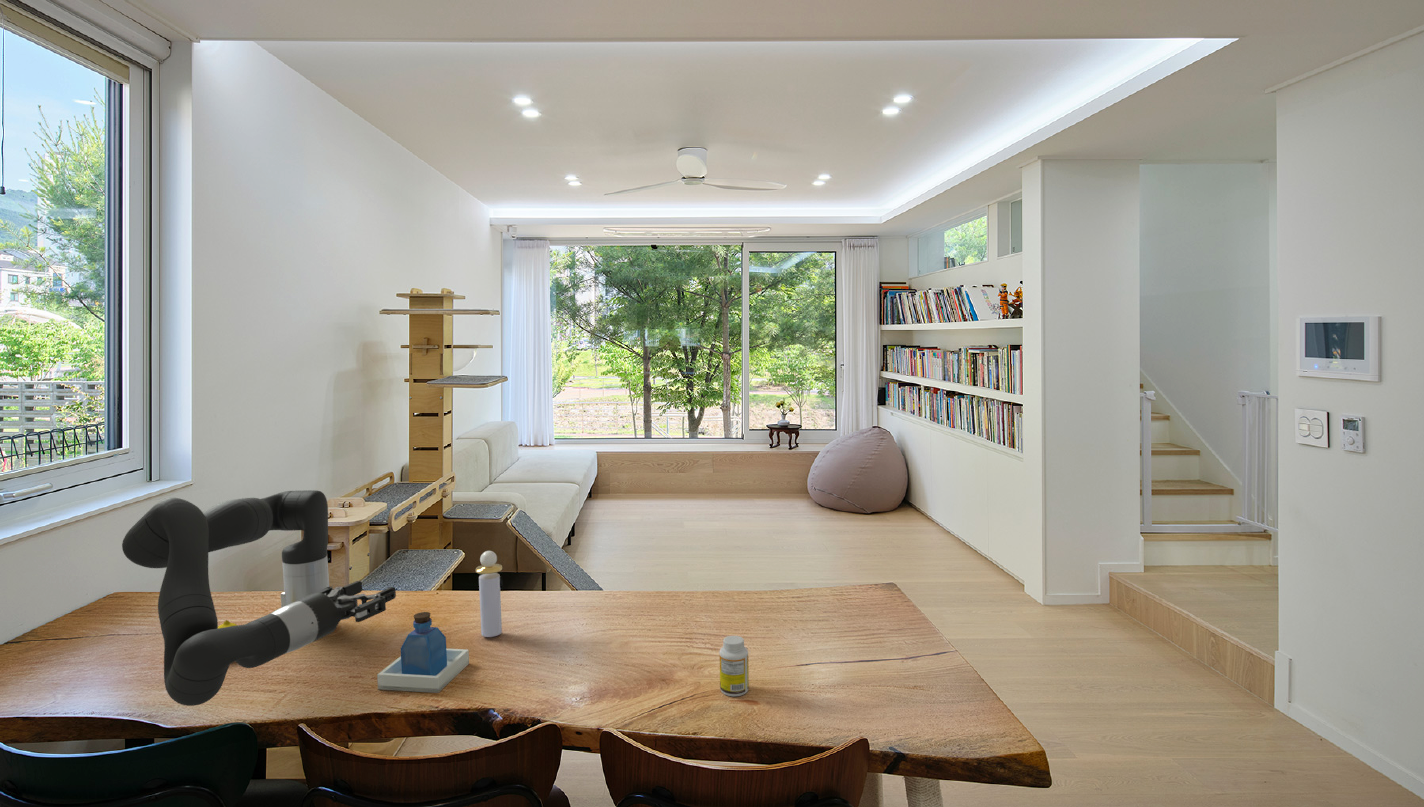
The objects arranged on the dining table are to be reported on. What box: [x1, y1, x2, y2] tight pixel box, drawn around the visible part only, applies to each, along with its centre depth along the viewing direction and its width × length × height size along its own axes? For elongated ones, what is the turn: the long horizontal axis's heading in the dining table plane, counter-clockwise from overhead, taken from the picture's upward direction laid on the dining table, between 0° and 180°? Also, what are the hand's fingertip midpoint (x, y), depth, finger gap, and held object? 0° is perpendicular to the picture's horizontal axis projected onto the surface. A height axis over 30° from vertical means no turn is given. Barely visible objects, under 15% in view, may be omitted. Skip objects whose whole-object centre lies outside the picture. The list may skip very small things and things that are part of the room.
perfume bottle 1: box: [400, 611, 447, 676], centre depth 144 cm, size 6×6×12 cm
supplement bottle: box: [719, 635, 750, 698], centre depth 137 cm, size 6×6×10 cm
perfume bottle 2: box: [475, 550, 504, 638], centre depth 163 cm, size 6×6×20 cm
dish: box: [376, 647, 470, 694], centre depth 145 cm, size 13×13×3 cm
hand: (377, 588), depth 136 cm, fingers open, 8 cm apart
